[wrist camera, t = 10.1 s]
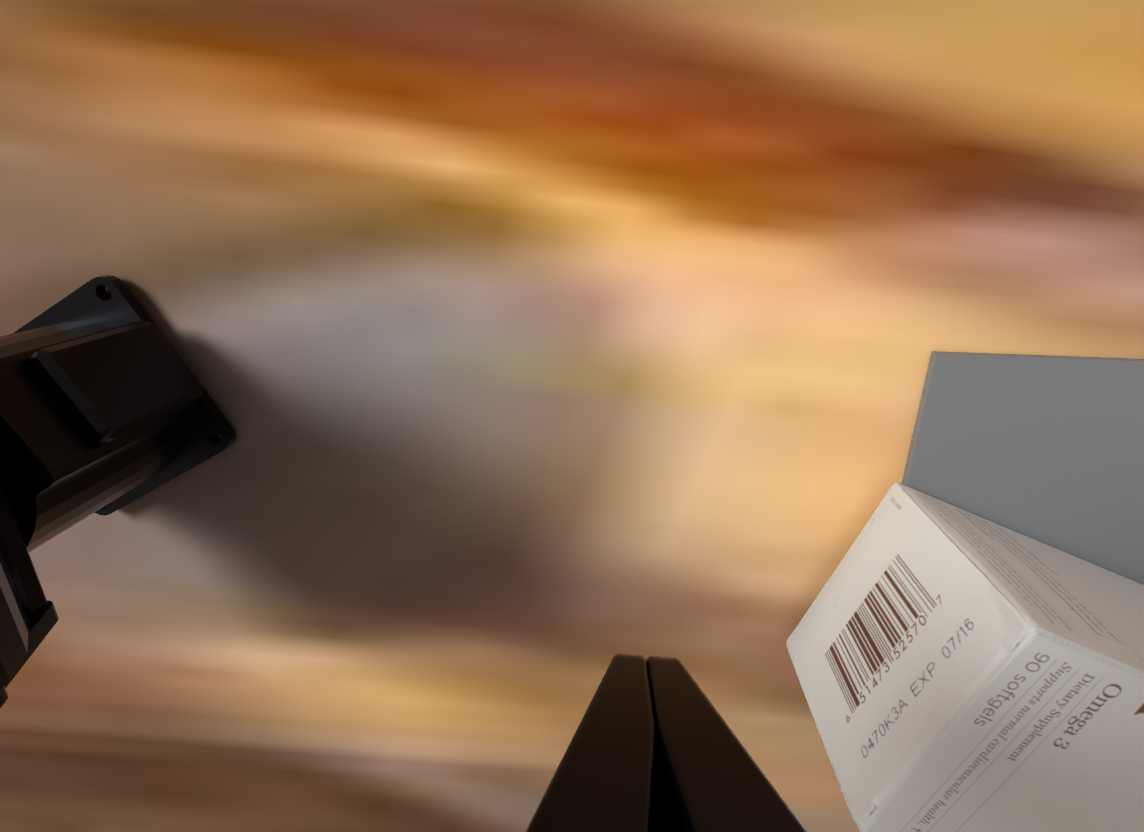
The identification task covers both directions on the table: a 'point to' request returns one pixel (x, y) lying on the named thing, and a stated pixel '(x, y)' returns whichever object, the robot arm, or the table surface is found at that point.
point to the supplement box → (975, 678)
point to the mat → (1039, 449)
